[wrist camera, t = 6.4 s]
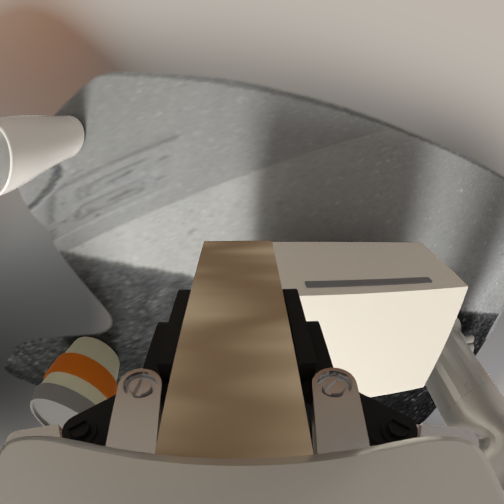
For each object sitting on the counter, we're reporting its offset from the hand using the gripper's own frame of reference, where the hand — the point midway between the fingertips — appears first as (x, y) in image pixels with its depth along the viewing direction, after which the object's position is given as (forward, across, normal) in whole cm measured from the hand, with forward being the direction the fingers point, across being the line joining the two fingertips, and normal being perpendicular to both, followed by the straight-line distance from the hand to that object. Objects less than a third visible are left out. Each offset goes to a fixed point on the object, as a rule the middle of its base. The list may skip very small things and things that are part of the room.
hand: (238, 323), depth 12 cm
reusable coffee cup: (+25, +25, +28) cm, 45 cm away
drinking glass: (+25, +21, -7) cm, 33 cm away
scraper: (+3, 0, +7) cm, 8 cm away
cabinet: (+25, -11, +12) cm, 30 cm away
